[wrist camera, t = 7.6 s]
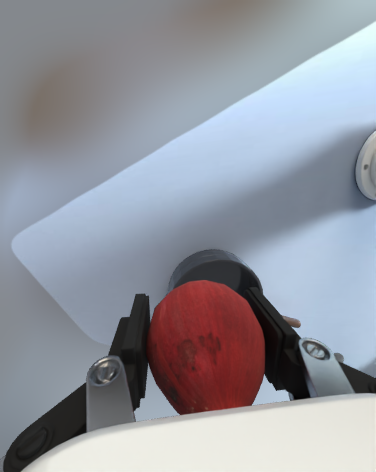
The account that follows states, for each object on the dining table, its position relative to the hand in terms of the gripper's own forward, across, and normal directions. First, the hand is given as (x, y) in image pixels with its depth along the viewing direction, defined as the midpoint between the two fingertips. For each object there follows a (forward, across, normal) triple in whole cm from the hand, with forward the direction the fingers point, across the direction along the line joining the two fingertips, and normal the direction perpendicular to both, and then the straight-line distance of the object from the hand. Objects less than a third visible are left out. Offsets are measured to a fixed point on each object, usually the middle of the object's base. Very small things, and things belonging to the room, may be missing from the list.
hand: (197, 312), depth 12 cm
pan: (+19, -6, +10) cm, 23 cm away
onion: (+2, 0, 0) cm, 2 cm away
